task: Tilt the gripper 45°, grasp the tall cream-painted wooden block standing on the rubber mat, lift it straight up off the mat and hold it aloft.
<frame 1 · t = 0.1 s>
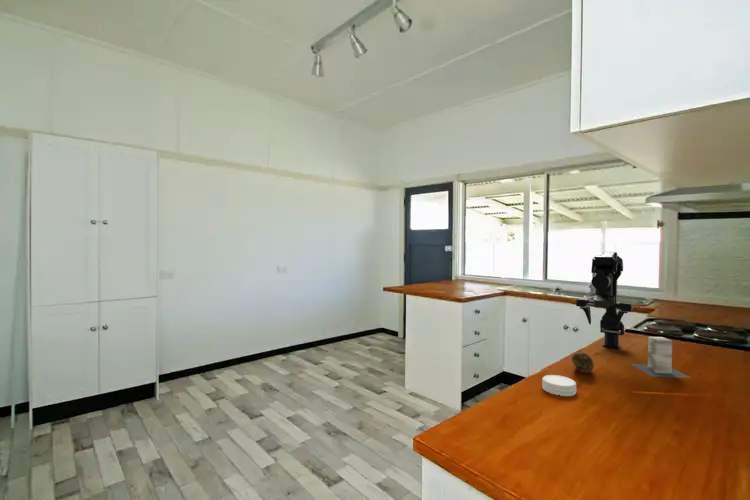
hand: (603, 325, 144), 15 cm above the countertop, tool pointing down, fingers open, 9 cm apart
potato: (582, 372, 134), on the countertop
rubber mat: (659, 372, 133), on the countertop
tall block: (659, 370, 133), point 1 cm above the countertop, touching rubber mat
coaster: (558, 391, 118), on the countertop
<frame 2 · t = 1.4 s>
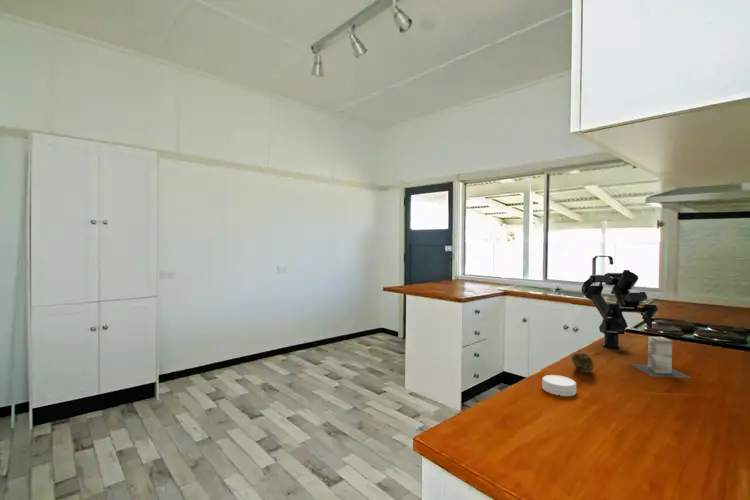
hand: (638, 327, 146), 14 cm above the countertop, tool tilted 45°, fingers open, 9 cm apart
nothing on the countertop moved.
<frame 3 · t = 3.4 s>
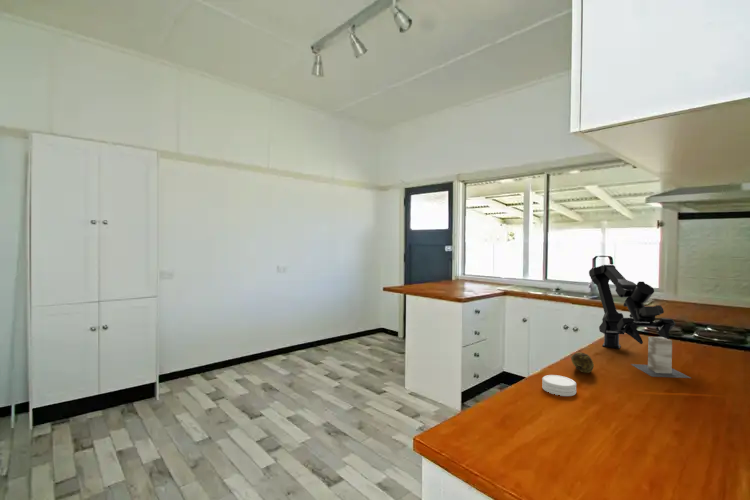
hand: (655, 343, 136), 10 cm above the countertop, tool tilted 45°, fingers open, 9 cm apart
nothing on the countertop moved.
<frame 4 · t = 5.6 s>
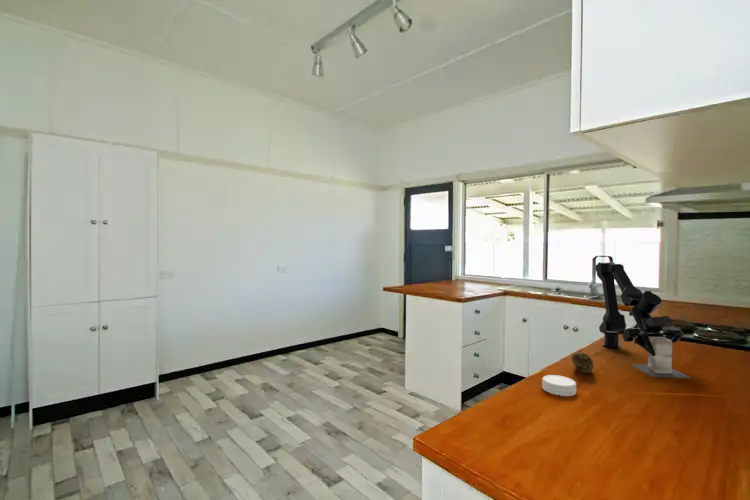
hand: (662, 355, 132), 7 cm above the countertop, tool tilted 45°, fingers closed on tall block, 5 cm apart
tall block: (659, 370, 133), point 1 cm above the countertop, touching gripper, rubber mat
everything else where it was.
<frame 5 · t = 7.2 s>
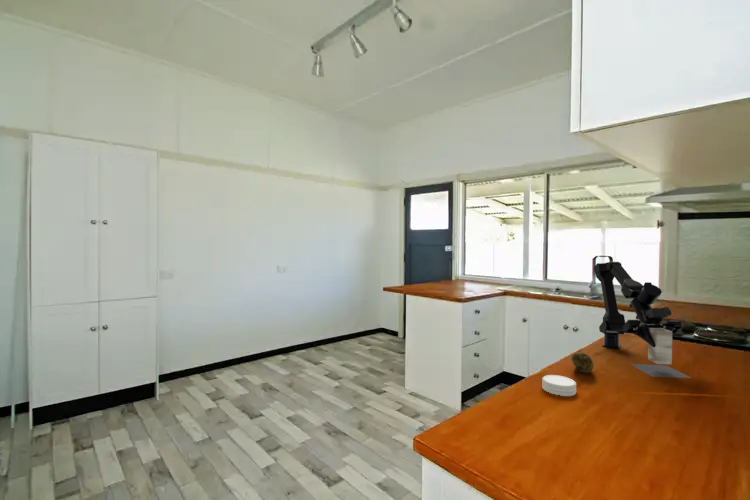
hand: (662, 346, 132), 10 cm above the countertop, tool tilted 45°, fingers closed on tall block, 5 cm apart
tall block: (659, 361, 133), point 4 cm above the countertop, touching gripper
everything else where it was.
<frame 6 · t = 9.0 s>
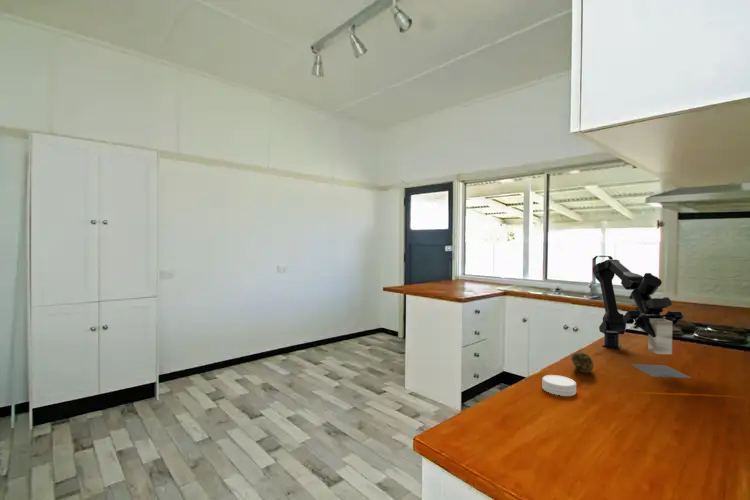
hand: (662, 337, 132), 14 cm above the countertop, tool tilted 45°, fingers closed on tall block, 5 cm apart
tall block: (659, 352, 133), point 8 cm above the countertop, touching gripper
everything else where it was.
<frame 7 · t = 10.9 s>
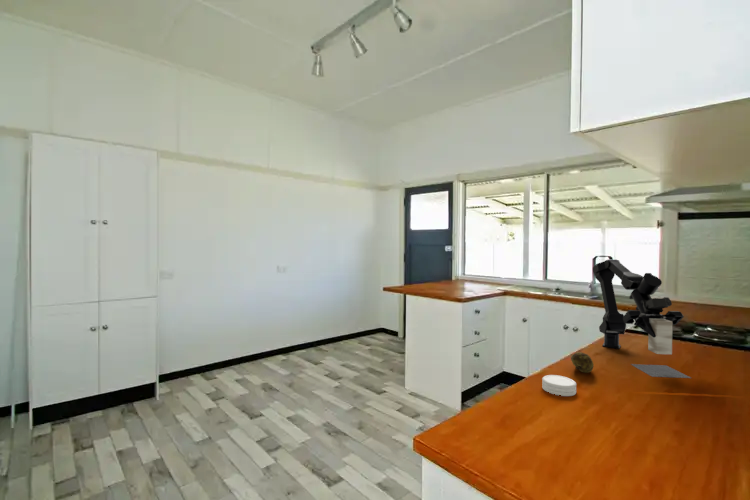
hand: (662, 337, 132), 14 cm above the countertop, tool tilted 45°, fingers closed on tall block, 5 cm apart
tall block: (659, 352, 133), point 8 cm above the countertop, touching gripper
everything else where it was.
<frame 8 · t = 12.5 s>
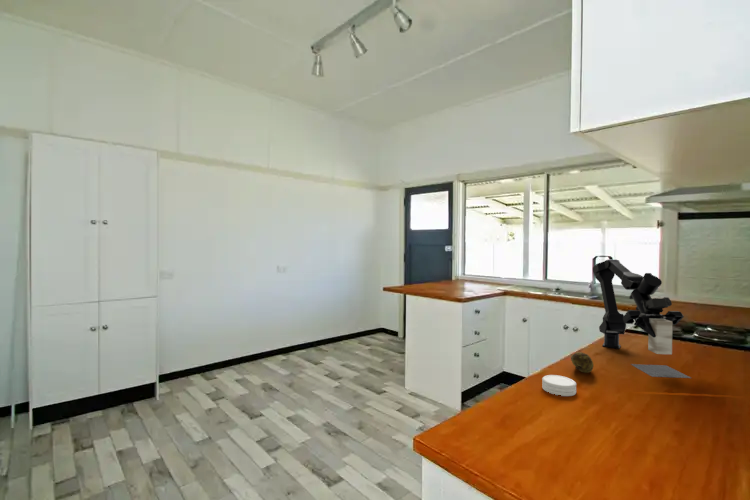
hand: (662, 337, 132), 14 cm above the countertop, tool tilted 45°, fingers closed on tall block, 5 cm apart
tall block: (659, 352, 133), point 8 cm above the countertop, touching gripper
everything else where it was.
at the end: tall block point 7.6 cm above the countertop; the gripper is holding tall block; tall block tilted 0° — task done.
